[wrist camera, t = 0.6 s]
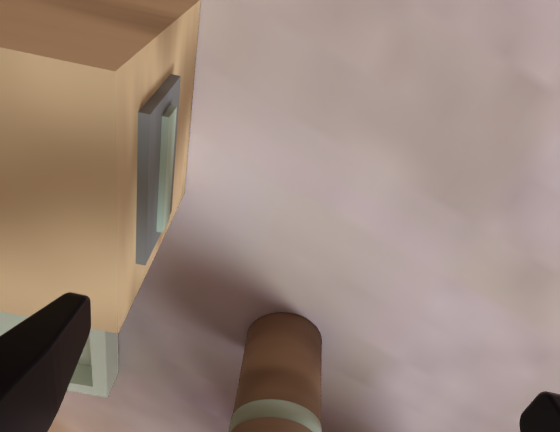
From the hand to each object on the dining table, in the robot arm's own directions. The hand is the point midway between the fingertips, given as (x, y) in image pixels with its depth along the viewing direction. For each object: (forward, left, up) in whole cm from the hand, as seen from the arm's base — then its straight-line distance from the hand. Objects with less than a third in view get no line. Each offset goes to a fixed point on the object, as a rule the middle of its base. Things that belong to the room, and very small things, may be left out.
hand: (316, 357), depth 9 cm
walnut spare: (-12, -1, -11) cm, 17 cm away
